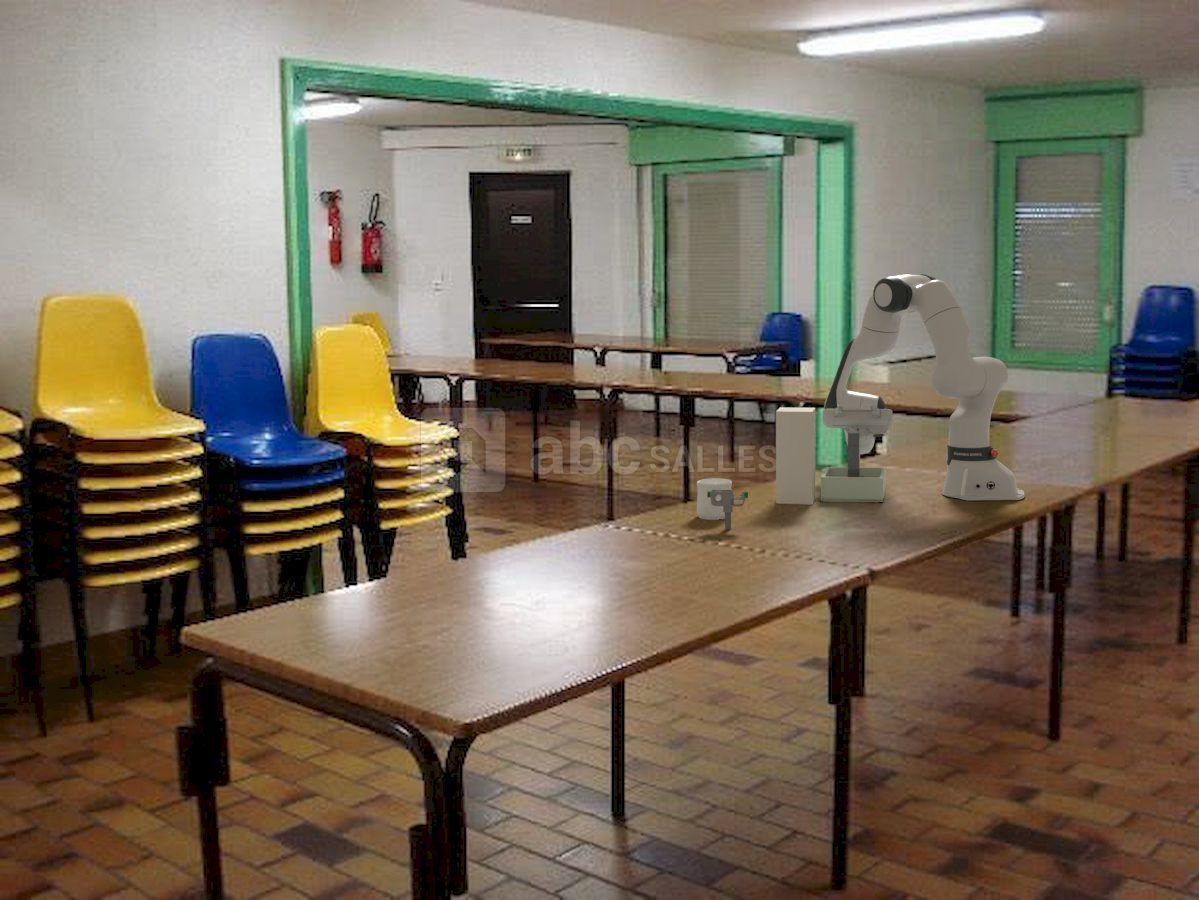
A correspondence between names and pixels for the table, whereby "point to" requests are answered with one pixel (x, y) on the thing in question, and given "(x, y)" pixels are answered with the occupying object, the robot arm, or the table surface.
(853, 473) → the grey long block
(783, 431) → the cream block
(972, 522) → the table surface
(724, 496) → the mechanical component
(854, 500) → the green bin
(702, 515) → the cup
